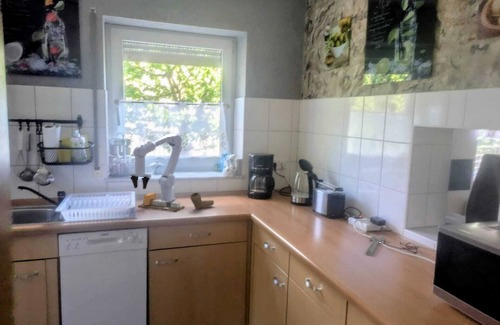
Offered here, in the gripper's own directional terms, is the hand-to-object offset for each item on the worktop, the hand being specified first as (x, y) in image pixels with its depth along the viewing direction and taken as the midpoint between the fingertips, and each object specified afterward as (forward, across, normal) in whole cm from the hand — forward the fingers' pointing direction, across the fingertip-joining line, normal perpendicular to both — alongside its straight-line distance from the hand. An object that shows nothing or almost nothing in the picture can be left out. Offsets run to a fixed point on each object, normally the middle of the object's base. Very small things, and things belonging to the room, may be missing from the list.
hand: (140, 188), depth 214 cm
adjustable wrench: (+11, +136, -19) cm, 138 cm away
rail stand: (+10, +15, 0) cm, 18 cm away
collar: (+9, +7, 0) cm, 11 cm away
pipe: (+11, +38, +9) cm, 41 cm away
